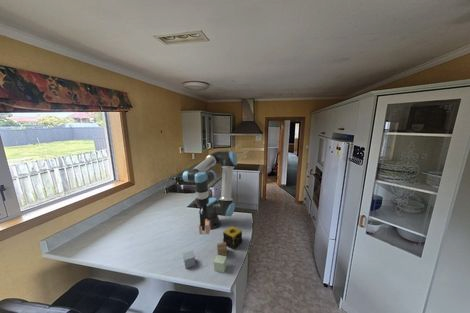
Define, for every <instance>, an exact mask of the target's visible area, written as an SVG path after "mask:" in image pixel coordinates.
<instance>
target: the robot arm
mask: <svg viewBox="0 0 470 313" xmlns="http://www.w3.org/2000/svg"><path fill="white" fill-rule="evenodd" d="M237 164H238V156H237V153H236V152H235V151H231V150H230V151H227V150H225V151H224V150H223V151H222V150H221V151H220V150H217V151H214V152H212V153H210V154H209V155H207V156H206V157H205V159H204V160H203V161H200V163H198V164H197V165H196V166H195V167H193V168H192V169H191V170H184V172H183V173H182V180H183V182H187V183H195V184H194V185H195V196H196V197H195V198H196V205H197V206H199V210H198V211H199V212H198V213H199V224H200V226H201V229H202V234H201V235H204V236H206V235H207V234H206V224H205V221H206V220H210V230H214V229H217V228H219V227H220V225H221V221H220V217H219V216H222V217H231V216H232V215H233V214H234V213H235V212H234V211H235V208H236V203H235V202H234V199H233V197H232V192H233V191H232V190H233V172H234V169H235V167H236V166H237ZM217 165H220V167H221V168H222V174H221V175H222V176H221V191H220V193H221V194H220V197H219V198H218V199H217V198H216V197H209V185H210V184H212V183H213V182H214V181H215V180H216V179H217V173H216V172H215V171H214V170H210V168H211V167H213V166H217Z"/></svg>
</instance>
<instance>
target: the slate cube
mask: <svg viewBox="0 0 470 313" xmlns="http://www.w3.org/2000/svg"><path fill="white" fill-rule="evenodd" d="M182 257H183V263H184V267H185V270H186V269H189V268H192V267H194V266H196V256H195V253H194V251H193V250H191V251H188V252H185V253H183V254H182Z"/></svg>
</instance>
